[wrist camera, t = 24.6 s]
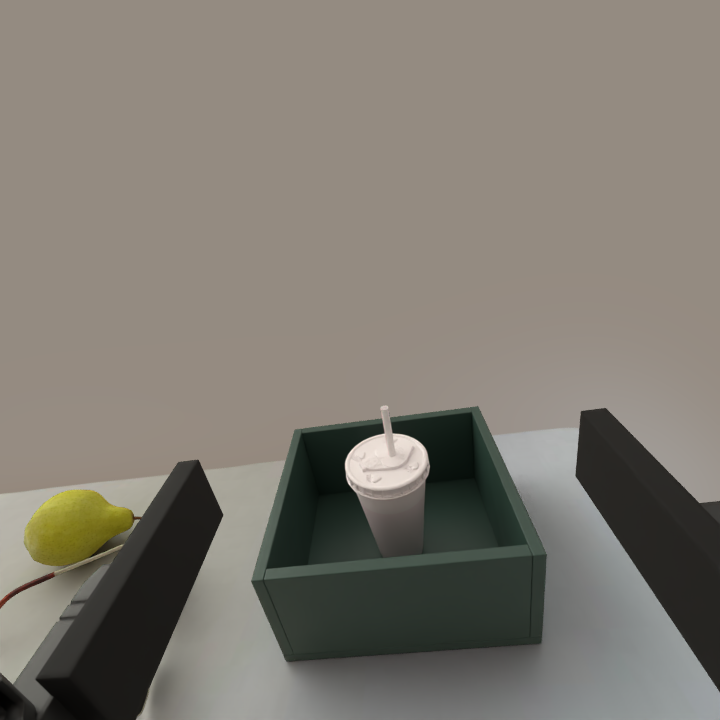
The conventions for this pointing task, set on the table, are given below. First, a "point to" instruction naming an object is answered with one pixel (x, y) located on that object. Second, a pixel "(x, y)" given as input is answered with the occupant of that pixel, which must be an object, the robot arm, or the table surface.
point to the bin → (403, 573)
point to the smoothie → (391, 488)
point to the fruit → (74, 527)
